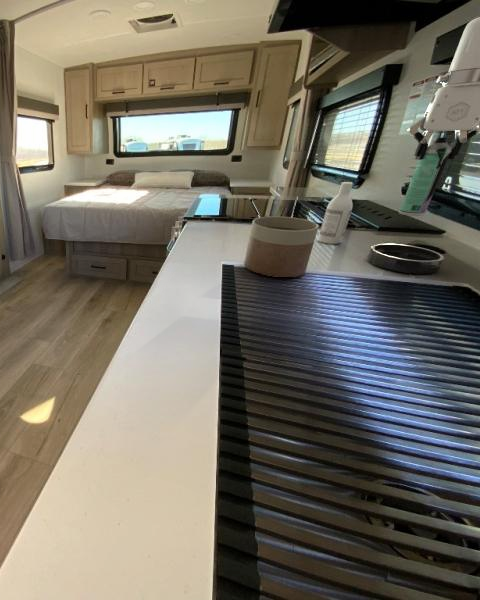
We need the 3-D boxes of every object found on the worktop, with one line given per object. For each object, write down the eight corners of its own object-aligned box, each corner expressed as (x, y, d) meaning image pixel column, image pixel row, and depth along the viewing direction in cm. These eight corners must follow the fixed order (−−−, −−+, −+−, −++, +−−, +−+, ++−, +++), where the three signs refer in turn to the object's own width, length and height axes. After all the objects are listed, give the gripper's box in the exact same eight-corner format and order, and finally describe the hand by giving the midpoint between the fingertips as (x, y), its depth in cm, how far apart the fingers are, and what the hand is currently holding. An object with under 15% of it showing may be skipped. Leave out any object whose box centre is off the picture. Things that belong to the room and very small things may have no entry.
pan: (425, 259, 99) (431, 246, 98) (447, 278, 87) (454, 264, 85) (361, 253, 106) (366, 241, 104) (373, 270, 94) (379, 257, 92)
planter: (247, 277, 93) (257, 229, 87) (240, 258, 106) (248, 215, 100) (312, 282, 89) (327, 231, 82) (296, 261, 102) (308, 216, 96)
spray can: (429, 215, 94) (463, 137, 84) (409, 216, 94) (441, 138, 85) (412, 211, 98) (442, 136, 89) (393, 212, 99) (422, 137, 89)
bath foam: (332, 238, 121) (350, 180, 112) (345, 244, 114) (366, 183, 105) (313, 239, 121) (329, 181, 112) (325, 244, 115) (344, 184, 106)
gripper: (425, 81, 82) (397, 160, 90) (526, 73, 75) (485, 160, 83) (414, 84, 88) (388, 158, 96) (506, 77, 81) (470, 157, 89)
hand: (433, 158), depth 89 cm, fingers closed on spray can, 5 cm apart
